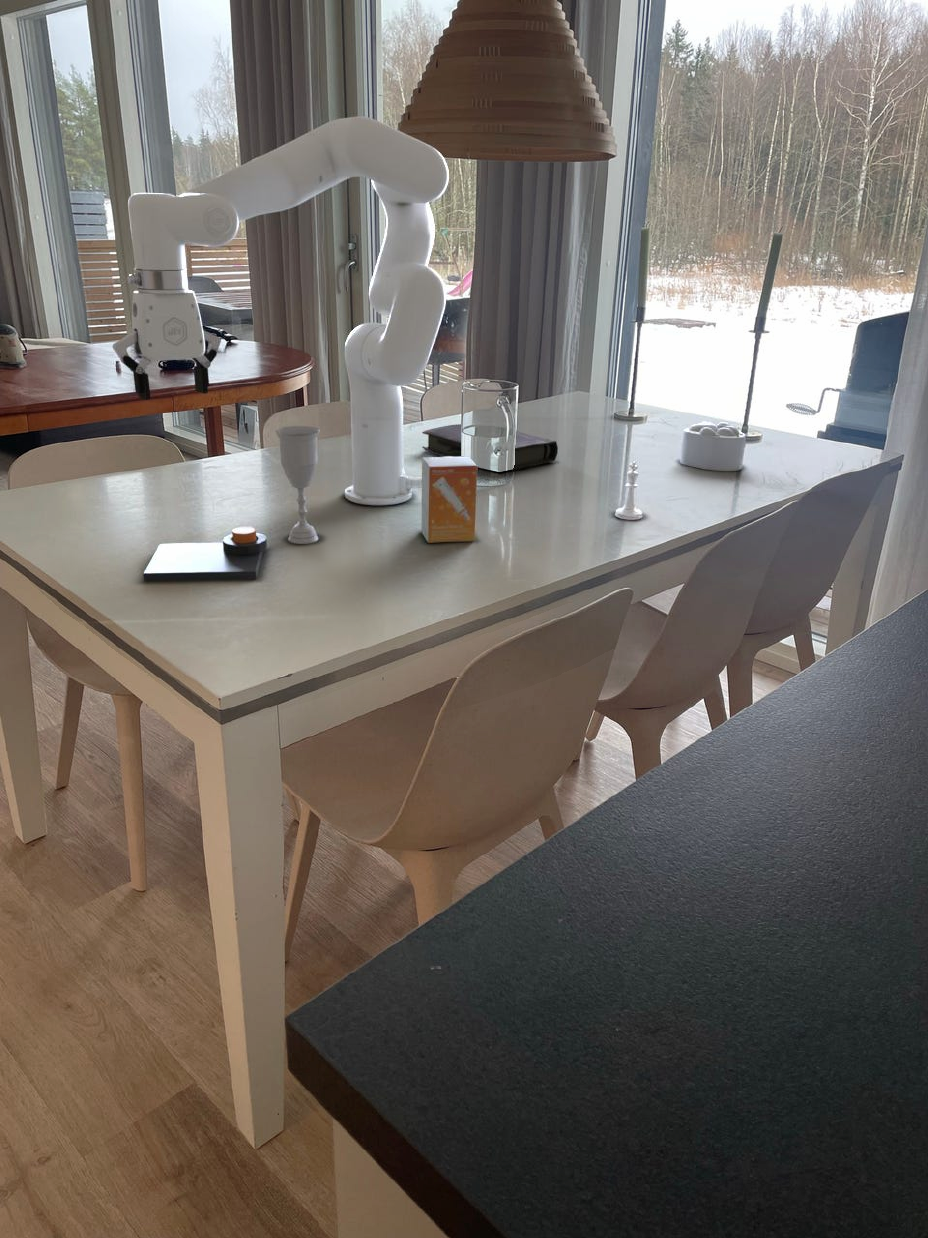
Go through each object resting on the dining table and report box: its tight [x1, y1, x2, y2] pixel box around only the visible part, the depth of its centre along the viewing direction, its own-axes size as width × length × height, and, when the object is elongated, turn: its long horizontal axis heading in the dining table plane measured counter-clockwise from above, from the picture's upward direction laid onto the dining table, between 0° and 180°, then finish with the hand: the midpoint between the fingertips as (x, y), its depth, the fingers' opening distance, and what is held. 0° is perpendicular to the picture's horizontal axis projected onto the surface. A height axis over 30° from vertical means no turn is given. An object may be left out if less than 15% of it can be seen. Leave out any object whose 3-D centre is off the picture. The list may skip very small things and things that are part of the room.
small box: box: [421, 456, 478, 544], centre depth 154 cm, size 8×6×13 cm
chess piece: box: [614, 461, 643, 521], centre depth 167 cm, size 5×5×10 cm
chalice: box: [275, 425, 320, 545], centre depth 150 cm, size 7×7×18 cm
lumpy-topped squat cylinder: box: [679, 421, 747, 472], centre depth 203 cm, size 10×13×9 cm
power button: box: [231, 526, 257, 543], centre depth 144 cm, size 4×4×2 cm
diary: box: [422, 423, 559, 471], centre depth 206 cm, size 19×25×5 cm
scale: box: [142, 532, 268, 583], centre depth 141 cm, size 17×13×3 cm
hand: (173, 395), depth 149 cm, fingers open, 9 cm apart
